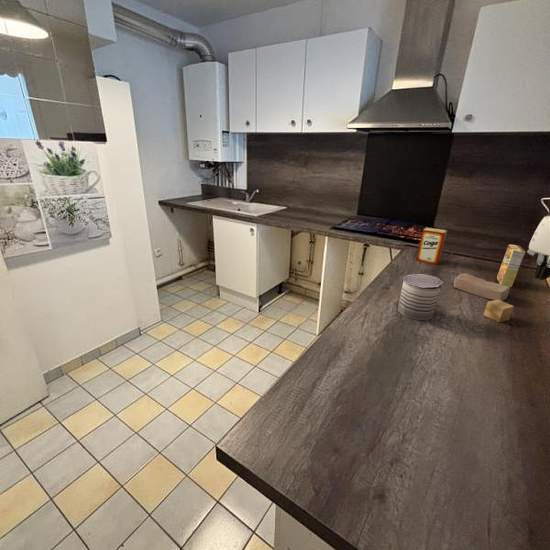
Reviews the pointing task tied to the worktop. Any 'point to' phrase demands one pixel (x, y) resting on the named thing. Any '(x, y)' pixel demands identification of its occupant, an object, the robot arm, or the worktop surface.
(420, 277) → the can
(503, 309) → the beech block
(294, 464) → the worktop surface
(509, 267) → the candy box
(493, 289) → the brick
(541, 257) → the robot arm
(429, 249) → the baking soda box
